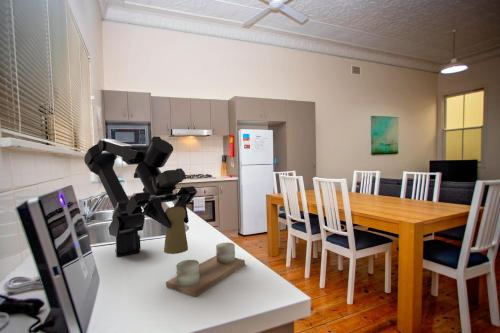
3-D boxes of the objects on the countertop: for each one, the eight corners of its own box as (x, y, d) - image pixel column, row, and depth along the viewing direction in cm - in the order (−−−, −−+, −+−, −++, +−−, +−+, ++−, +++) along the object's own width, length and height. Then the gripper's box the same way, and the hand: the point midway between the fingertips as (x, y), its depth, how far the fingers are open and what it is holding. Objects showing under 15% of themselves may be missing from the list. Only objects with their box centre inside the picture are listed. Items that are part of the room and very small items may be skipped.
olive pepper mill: (191, 245, 70) (190, 205, 70) (182, 254, 64) (182, 209, 64) (170, 245, 71) (169, 204, 71) (159, 253, 65) (158, 209, 65)
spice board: (166, 286, 60) (165, 264, 59) (218, 258, 76) (218, 240, 75) (195, 297, 55) (194, 272, 55) (244, 264, 71) (244, 245, 71)
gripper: (130, 159, 62) (159, 212, 55) (192, 158, 76) (220, 199, 70) (115, 190, 67) (140, 241, 61) (175, 183, 82) (201, 224, 75)
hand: (179, 224), depth 67 cm, fingers closed on olive pepper mill, 5 cm apart
